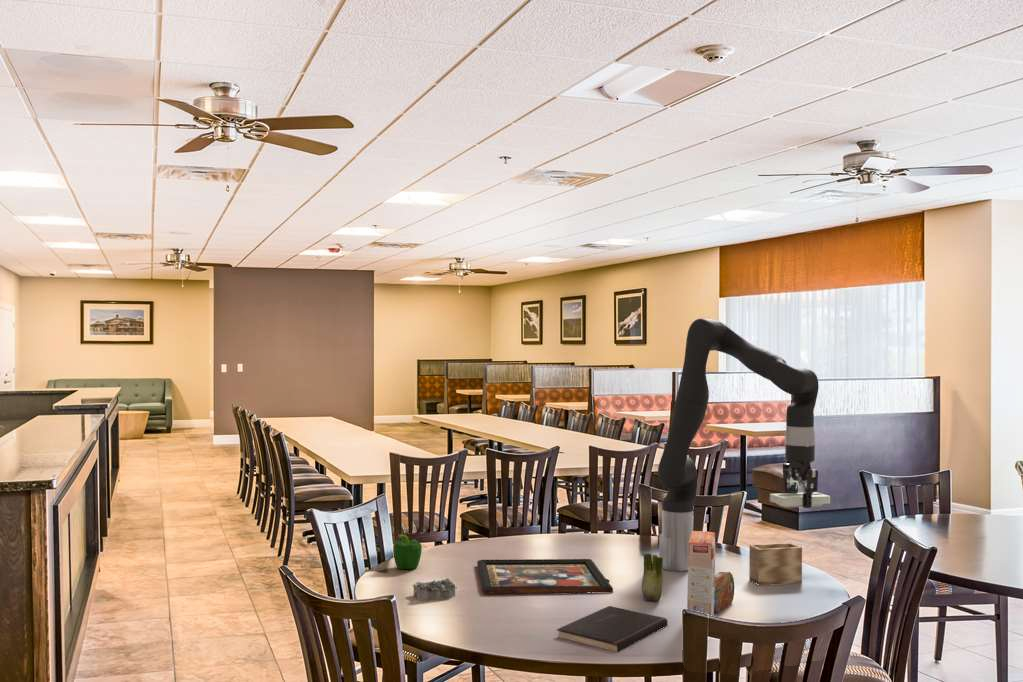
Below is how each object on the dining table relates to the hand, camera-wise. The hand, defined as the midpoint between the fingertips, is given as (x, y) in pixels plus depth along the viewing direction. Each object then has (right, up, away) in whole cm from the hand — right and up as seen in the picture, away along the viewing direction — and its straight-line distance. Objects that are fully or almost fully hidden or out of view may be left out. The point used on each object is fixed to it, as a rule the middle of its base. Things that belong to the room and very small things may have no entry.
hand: (799, 505), depth 236 cm
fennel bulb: (-41, -24, -7) cm, 48 cm away
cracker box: (-32, -24, -26) cm, 48 cm away
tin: (-25, -24, -13) cm, 37 cm away
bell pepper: (-108, -23, +25) cm, 113 cm away
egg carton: (-98, -24, -4) cm, 101 cm away
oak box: (-3, -24, +12) cm, 27 cm away
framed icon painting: (-69, -24, +14) cm, 74 cm away
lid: (0, +1, 0) cm, 1 cm away
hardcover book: (-54, -24, -32) cm, 67 cm away
